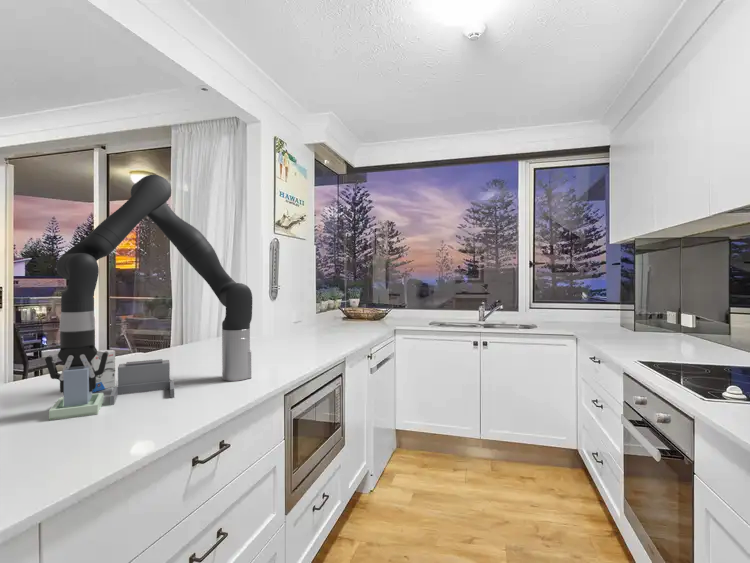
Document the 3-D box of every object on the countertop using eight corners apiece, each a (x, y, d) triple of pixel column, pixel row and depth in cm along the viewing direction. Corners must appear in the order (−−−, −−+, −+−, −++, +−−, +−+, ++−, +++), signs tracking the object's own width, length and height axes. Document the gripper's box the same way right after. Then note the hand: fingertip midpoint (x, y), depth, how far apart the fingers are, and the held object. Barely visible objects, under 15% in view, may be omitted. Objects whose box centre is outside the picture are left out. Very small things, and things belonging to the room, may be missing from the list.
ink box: (93, 393, 127) (93, 354, 127) (79, 392, 128) (79, 354, 128) (116, 385, 135) (116, 349, 135) (103, 385, 136) (103, 349, 136)
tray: (103, 401, 118) (103, 392, 118) (97, 414, 107) (97, 405, 107) (60, 406, 114) (60, 397, 114) (49, 420, 102) (49, 410, 102)
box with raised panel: (92, 396, 115) (91, 361, 115) (87, 404, 108) (87, 367, 108) (69, 398, 113) (69, 363, 112) (63, 406, 105) (63, 369, 105)
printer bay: (172, 383, 138) (172, 357, 137) (174, 397, 122) (174, 368, 122) (116, 389, 130) (115, 362, 130) (109, 405, 114) (109, 374, 114)
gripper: (111, 325, 117) (111, 386, 117) (47, 328, 110) (47, 392, 110) (108, 328, 110) (108, 392, 110) (40, 331, 103) (40, 399, 103)
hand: (78, 392), depth 110 cm, fingers closed on box with raised panel, 5 cm apart
